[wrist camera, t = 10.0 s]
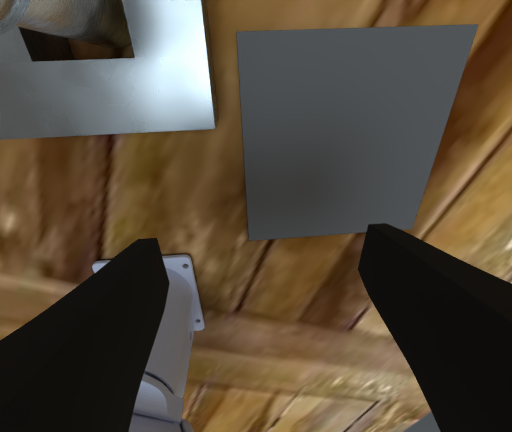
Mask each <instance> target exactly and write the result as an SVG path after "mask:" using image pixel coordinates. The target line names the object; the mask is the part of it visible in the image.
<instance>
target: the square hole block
mask: <svg viewBox="0 0 512 432" xmlns="http://www.w3.org/2000/svg"><path fill="white" fill-rule="evenodd" d="M122 3H123V7H124V12H125V16H126V20H127V25H128V29H129V33H130V38H131V42H132V46H133V51H134V55H135V58H124V59H95V60H74V59H73V56H72V53H71V50H70V47H69V44H68V41H67V38H65V37H61V36H56V35H52V34H48V33H44V32H39V31H35V30H31V29H26V28H22V27H18V26H14V27H13V28H12V29H10V30H8V31H7V32H5V33H3V34H0V140H3V139H23V138H43V137H62V136H82V135H102V134H122V133H142V132H161V131H181V130H201V129H215V128H216V125H217V122H218V109H217V99H216V90H215V80H214V70H213V60H212V50H211V41H210V31H209V21H208V11H207V2H206V0H122Z"/></svg>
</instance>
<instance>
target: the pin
mask: <svg viewBox="0 0 512 432" xmlns="http://www.w3.org/2000/svg"><path fill="white" fill-rule="evenodd" d="M14 26H18V27H22V28H26V29H31V30H35V31H39V32H44V33H48V34H52V35H56V36H61V37H65V38H69V39H74V40H78V41H82V42H87V43H91V44H95V45H100V46H104V47H108V48H114V49H118V48H123V47H126V46H127V45H129V44H130V43H131V38H130V33H129V29H128V25H127V20H126V16H125V12H124V7H123V3H122V0H0V34H3V33H5V32H7V31H8V30H10V29H12V28H13V27H14Z"/></svg>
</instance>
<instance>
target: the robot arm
mask: <svg viewBox="0 0 512 432" xmlns="http://www.w3.org/2000/svg"><path fill="white" fill-rule="evenodd" d="M184 264H187V266H185V265H184ZM92 269H93V271H94V274H93V275H92V276H91V277H89V278H88V279H87V280H85V281H84V282H83V283H82V284H80V285H79V286H78V287H76V288H75V289H74V290H72V291H71V292H69V293H68V294H67V295H65V296H64V297H63V298H61V299H60V300H59V301H57V302H56V303H55V304H53V305H52V306H51V307H49V308H48V309H46V310H45V311H44V312H42V313H41V314H39V315H38V316H37V317H35V318H34V319H32V320H31V321H29V322H28V323H26V324H25V325H23V326H22V327H20V328H19V329H17V330H16V331H14V332H13V333H11V334H10V335H8V336H6V337H5V338H3V339H2V340H0V432H194V431H193V428H192V426H191V424H190V423H189V422H188V421H187V420H185V419H181V418H182V412H183V405H184V399H183V395H184V392H185V388H186V382H187V375H188V368H189V362H190V355H191V349H192V342H193V336H194V331H200V330H203V329H204V326H205V323H204V318H203V314H202V309H201V304H200V299H199V294H198V289H197V285H196V280H195V275H194V270H193V265H192V261H191V257H190V256H189V255H185V254H183V255H170V256H162V254H161V251H160V247H159V244H158V240H157V238H149V239H138V240H136V241H135V242H134V243H132V244H131V245H130V246H128V247H127V248H126V249H124V250H123V251H122V252H121V253H119V254H118V255H117V256H116V257H114V258H113V259H112V260H104V261H96V262H95V263H94V264H93V266H92ZM358 271H359V273H360V276H361V278H362V281H363V283H364V286H365V288H366V290H367V293H368V295H369V297H370V298H371V300H372V302H373V304H374V305H375V307H376V309H377V311H378V312H379V314H380V316H381V318H382V319H383V321H384V323H385V324H386V326H387V328H388V329H389V331H390V333H391V334H392V336H393V338H394V340H395V341H396V343H397V345H398V346H399V348H400V350H401V351H402V353H403V355H404V357H405V358H406V360H407V362H408V364H409V366H410V368H411V369H412V371H413V373H414V375H415V377H416V379H417V381H418V383H419V386H420V388H421V390H422V392H423V394H424V396H425V398H426V400H427V402H428V405H429V407H430V409H431V411H432V413H433V415H434V417H435V420H436V422H437V424H438V427H439V429H440V431H441V432H512V284H511V283H509V282H506V281H504V280H502V279H500V278H498V277H495V276H493V275H491V274H489V273H487V272H485V271H482V270H480V269H478V268H476V267H474V266H472V265H470V264H468V263H466V262H464V261H461V260H459V259H457V258H455V257H453V256H451V255H449V254H447V253H445V252H443V251H441V250H440V249H438V248H436V247H434V246H432V245H430V244H428V243H426V242H424V241H422V240H420V239H418V238H416V237H414V236H412V235H410V234H408V233H406V232H404V231H402V230H400V229H398V228H396V227H394V226H391V225H389V224H386V223H381V224H368V228H367V232H366V236H365V241H364V245H363V249H362V254H361V258H360V262H359V267H358Z"/></svg>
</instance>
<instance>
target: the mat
mask: <svg viewBox="0 0 512 432" xmlns="http://www.w3.org/2000/svg"><path fill="white" fill-rule="evenodd" d="M477 27H478V24H475V25H442V26H409V27H376V28H343V29H310V30H277V31H244V32H237V49H238V66H239V83H240V100H241V116H242V133H243V150H244V167H245V184H246V201H247V218H248V235H249V241H253V240H267V239H280V238H294V237H307V236H321V235H334V234H347V233H361V232H367V228H368V224H381V223H386V224H389V225H391V226H394V227H396V228H398V229H400V230H401V229H412V228H413V225H414V221H415V218H416V215H417V212H418V209H419V206H420V203H421V200H422V197H423V194H424V191H425V188H426V185H427V181H428V178H429V175H430V172H431V169H432V166H433V163H434V160H435V157H436V154H437V151H438V148H439V144H440V141H441V138H442V135H443V132H444V129H445V126H446V123H447V120H448V117H449V114H450V111H451V108H452V104H453V101H454V98H455V95H456V92H457V89H458V86H459V83H460V80H461V77H462V74H463V71H464V68H465V64H466V61H467V58H468V55H469V52H470V49H471V46H472V43H473V40H474V37H475V34H476V31H477Z"/></svg>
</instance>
